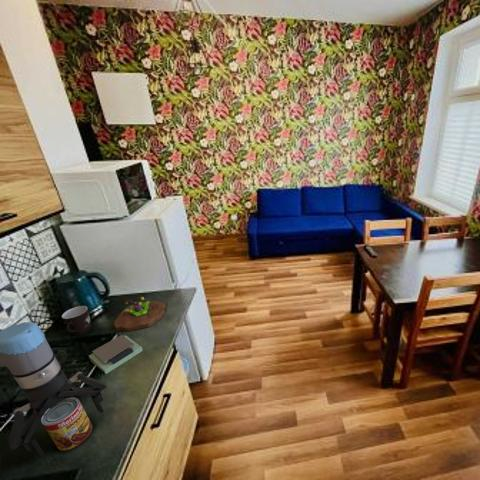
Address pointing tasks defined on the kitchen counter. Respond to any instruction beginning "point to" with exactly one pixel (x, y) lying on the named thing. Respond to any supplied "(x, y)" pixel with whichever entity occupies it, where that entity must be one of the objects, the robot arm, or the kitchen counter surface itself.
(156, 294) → the kitchen counter surface
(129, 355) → the scale
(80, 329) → the coffee mug
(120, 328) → the plant
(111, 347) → the scale pan
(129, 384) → the kitchen counter surface
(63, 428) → the canned food
